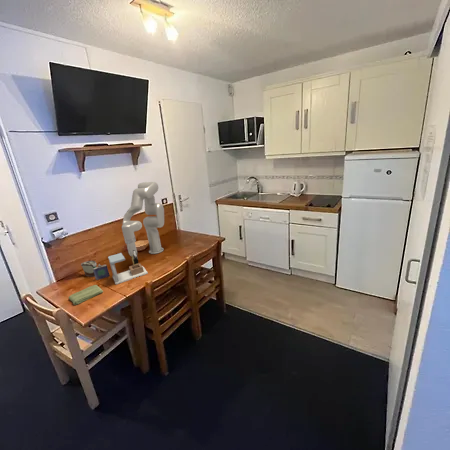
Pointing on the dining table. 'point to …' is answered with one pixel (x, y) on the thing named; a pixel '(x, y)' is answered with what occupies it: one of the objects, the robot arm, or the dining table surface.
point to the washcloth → (85, 294)
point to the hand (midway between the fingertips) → (135, 261)
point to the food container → (89, 267)
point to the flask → (101, 272)
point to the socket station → (127, 275)
